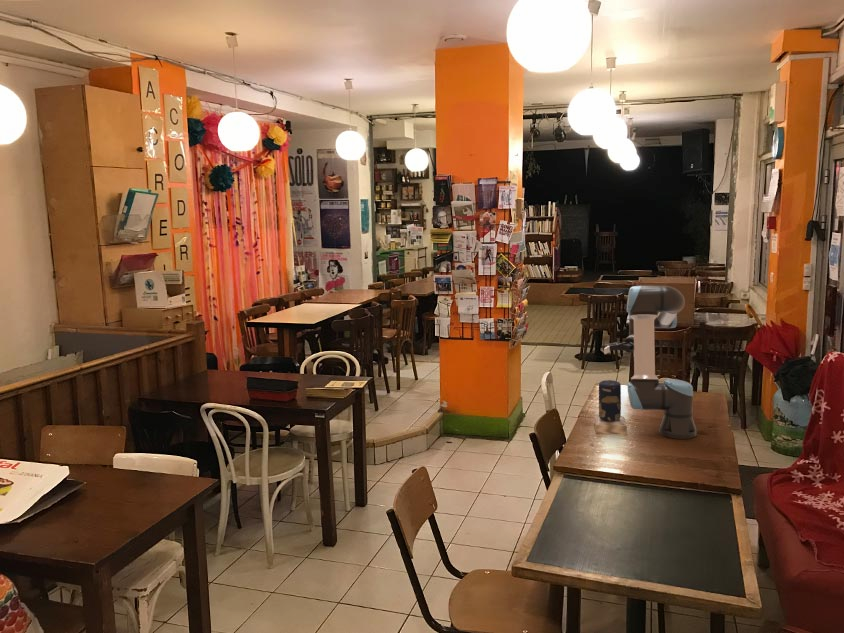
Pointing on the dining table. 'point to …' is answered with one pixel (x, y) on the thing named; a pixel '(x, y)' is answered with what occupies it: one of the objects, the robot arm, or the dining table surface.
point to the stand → (610, 426)
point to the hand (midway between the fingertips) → (619, 352)
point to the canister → (609, 400)
